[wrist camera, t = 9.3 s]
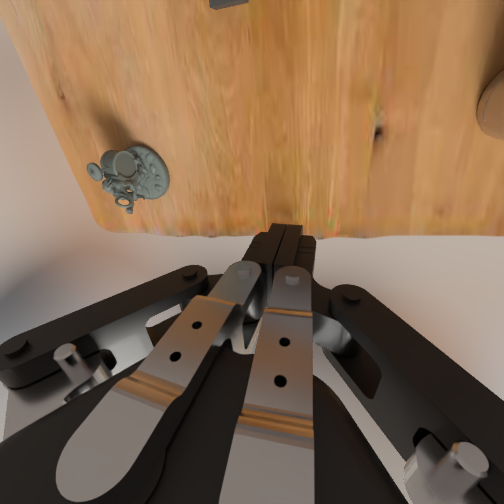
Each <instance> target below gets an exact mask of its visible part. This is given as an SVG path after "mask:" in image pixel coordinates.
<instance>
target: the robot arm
mask: <svg viewBox="0 0 504 504" xmlns="http://www.w3.org/2000/svg"><path fill="white" fill-rule="evenodd" d="M477 119H478V123H479V125H480V127H481V129H482V130H483V131H484V132H485V133H486V134H487V135H490V136H492V137H494V138H497V139H500V140H504V69H503V70H502V71H501V72H500V73H499V74H498V75H497V76H496V77H495V78H494V79H493V80H492V81H491V82H490V83H489V85H488V86H487V88H486V89H485V91H484V92H483V94H482V97H481V99H480V101H479V105H478V109H477ZM315 251H316V240H315V239H314V237H313V236H307V235H303V225H291V224H288V225H287V224H276V223H272V225H271V227H270V229H269V231H268V232H260V233H259V234H257V235H256V236H255V237H254V238H253V240H252V242H251V244H250V246H249V248H248V250H247V251H246V253H245V255H244V257H243V258H242V260H241V261H239V262H236V263H234V264H232V265H230V266H229V267H228V269H227V270H226V272H225V273H224V274H219V275H208V274H207V270H206V269H205V268H204V267H202V266H199V265H189V266H185V267H182V268H180V269H178V270H175V271H173V272H170V273H168V274H165V275H163V276H160V277H158V278H156V279H153V280H151V281H149V282H146V283H143V284H141V285H138V286H136V287H134V288H131V289H129V290H126V291H124V292H121V293H119V294H117V295H114V296H112V297H109V298H107V299H104V300H102V301H99V302H97V303H94V304H92V305H90V306H87V307H85V308H82V309H80V310H78V311H75V312H72V313H70V314H68V315H65V316H63V317H61V318H58V319H55V320H53V321H51V322H48V323H46V324H43V325H41V326H38V327H36V328H34V329H31V330H29V331H26V332H24V333H21V334H19V335H17V336H14V337H12V338H11V339H9V340H7V341H6V342H4V343H3V344H1V345H0V381H1V382H2V383H3V385H4V387H5V388H6V389H7V390H8V391H9V394H8V402H7V411H6V420H5V429H4V437H3V441H2V442H1V443H0V504H409V503H408V502H407V500H406V499H405V497H404V496H403V494H402V493H401V491H400V490H399V488H398V487H397V485H396V484H395V482H394V481H393V479H392V478H391V476H390V474H389V473H388V472H387V470H386V468H385V467H384V465H383V464H382V462H381V461H380V459H379V458H378V456H377V455H376V453H375V452H374V450H373V449H372V447H371V445H370V444H369V442H368V441H367V439H366V438H365V436H364V435H363V433H362V432H361V430H360V429H359V427H358V426H357V424H356V423H355V421H354V420H353V418H352V416H351V415H350V413H349V412H348V410H347V409H346V408H345V406H344V404H343V403H342V401H341V400H340V398H339V397H338V396H337V395H336V394H335V392H334V391H333V390H332V389H331V388H330V387H329V386H327V384H325V383H324V382H323V381H321V380H320V379H319V378H318V377H316V376H314V375H313V343H315V344H317V345H319V346H321V347H322V349H323V353H324V355H325V356H326V358H327V359H328V360H329V362H330V363H331V364H332V366H333V367H334V368H335V369H336V371H337V372H338V373H339V375H340V376H341V377H342V379H343V380H344V381H345V383H346V384H347V385H348V387H349V388H350V389H351V391H352V392H353V393H354V395H355V396H356V397H357V398H358V400H359V401H360V402H361V404H362V405H363V406H364V408H365V409H366V410H367V412H368V413H369V414H370V416H371V417H372V418H373V420H374V421H375V422H376V424H377V425H378V426H379V427H380V429H381V430H382V431H383V433H384V434H385V435H386V437H387V438H388V439H389V441H390V442H391V443H392V444H393V446H394V447H395V449H396V450H397V451H398V452H399V454H400V455H401V456H402V458H403V459H404V460H405V461H406V463H405V466H404V471H403V476H404V483H405V486H406V490H407V492H408V494H409V497H410V499H411V500H412V502H413V504H504V401H503V400H502V399H500V398H499V397H498V396H497V395H495V394H494V393H493V392H491V391H490V390H489V389H488V388H487V387H485V386H484V385H483V384H482V383H480V382H479V381H478V380H477V379H475V378H474V377H473V376H472V375H470V374H469V373H468V372H467V371H466V370H464V369H463V368H462V367H461V366H459V365H458V364H457V363H456V362H454V361H453V360H452V359H451V358H449V357H448V356H447V355H445V353H443V352H442V351H441V350H439V349H438V348H437V347H436V346H435V345H433V344H432V343H431V342H430V341H428V340H427V339H426V338H425V337H423V336H422V335H421V334H419V333H418V332H417V331H416V330H415V329H413V328H412V327H411V326H410V325H408V324H407V323H406V322H405V321H403V320H402V319H401V318H400V317H398V316H397V315H396V314H395V313H394V312H392V311H391V310H390V309H389V308H387V307H386V306H385V305H384V304H382V303H381V302H380V301H379V300H377V299H376V298H375V297H373V296H372V295H371V294H370V293H369V292H367V291H366V290H365V289H363V288H361V287H358V286H355V285H349V284H343V285H338V286H336V287H334V288H333V289H332V290H330V289H327V288H325V287H323V286H321V285H319V284H318V283H317V282H316V281H315V280H314V278H313V271H314V261H315ZM177 304H180V308H181V311H182V312H181V313H179V314H177V315H175V316H173V317H171V318H169V319H167V320H165V321H163V322H161V323H159V324H157V325H155V326H153V327H145V325H146V322H147V321H148V320H149V318H151V317H153V316H155V315H157V314H159V313H161V312H163V311H165V310H167V309H169V308H171V307H173V306H175V305H177ZM266 307H268V308H266ZM259 330H260V331H259ZM258 333H259V336H258V340H257V345H256V349H255V354H250V352H251V349H252V347H253V344H254V342H255V340H256V337H257V335H258Z"/></svg>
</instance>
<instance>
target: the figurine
mask: <svg viewBox="0 0 504 504" xmlns="http://www.w3.org/2000/svg"><path fill="white" fill-rule="evenodd" d="M100 164H101V169H100V167H99V166H98V165H97V164H95V163H89V164H88V165H87V171H88V173H89V175H90V176H91V177H92V178H93V179H94V180H96V181H100V180H102V179H103V176H104V177H105V178H107V179H106V180H104V181H103V182H102V186H103V189H104V190H105V191H106V192H108V193H111V194H113V196H114V197H116V199H115V203H116V204H117V205H118V206H119V207H122V208H127V209H126V212H127V213H129V214H132V213H133V206H134V202H133V201H136V200H137V199H138V198H143V199H144V200H145V198H146V199H157V198H159V197H161V196H163V195H164V194H165V193H166V192H167V190H168V188H169V183H170V177H169V172H168V169H167V166H166V164H165V163H164V161H163V160H162V158H161V157H160V156H159V155H158V154H157V153H156V152H155V151H153V150H152V149H150V148H148V147H145V146H141V145H137V146H132V147H129V148H128V149H126V150H125V151H114V150H109V151H106V152H105V153H104V154H103V155H102V157H101V161H100ZM102 171H103V173H104V175H103V173H102ZM127 190H130V191H132V192H127ZM119 199H121V200H128V201H129V204H128V205H121V204H119V203H118V200H119Z"/></svg>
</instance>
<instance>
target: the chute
mask: <svg viewBox="0 0 504 504" xmlns="http://www.w3.org/2000/svg"><path fill="white" fill-rule="evenodd" d="M209 3H210V8H213V9H215V10H218V9H222V8H226V7H231V6H235V5H239V4H244V3H248V0H209Z"/></svg>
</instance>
